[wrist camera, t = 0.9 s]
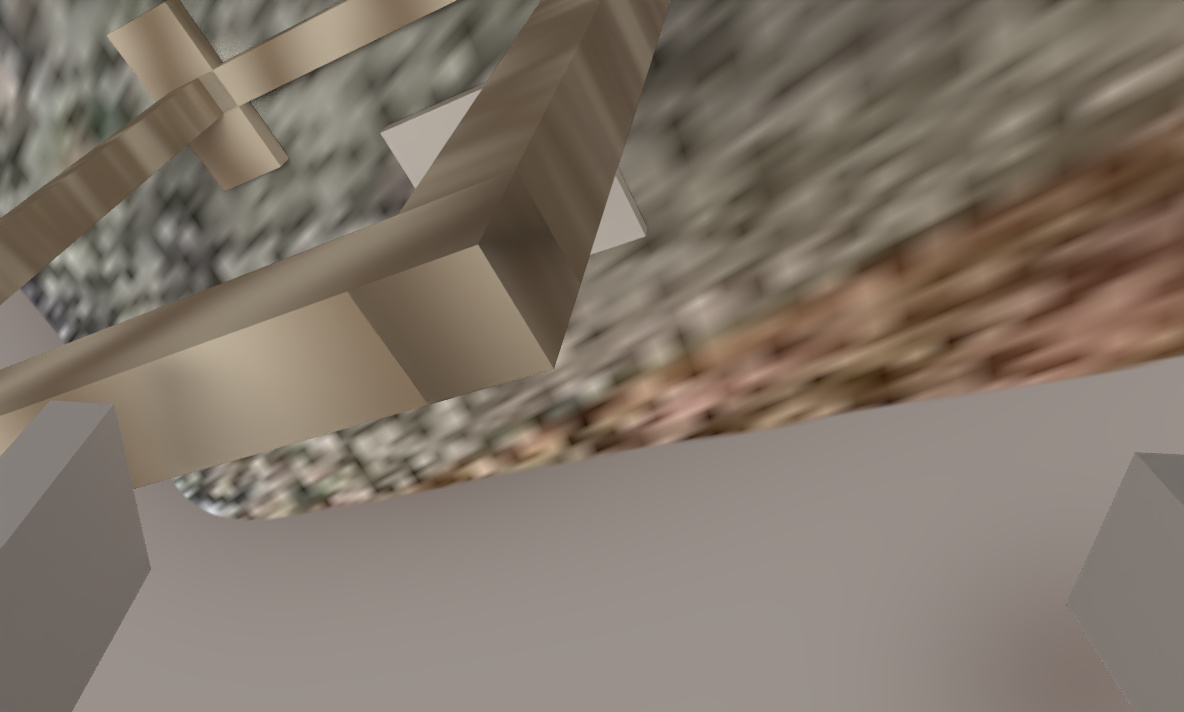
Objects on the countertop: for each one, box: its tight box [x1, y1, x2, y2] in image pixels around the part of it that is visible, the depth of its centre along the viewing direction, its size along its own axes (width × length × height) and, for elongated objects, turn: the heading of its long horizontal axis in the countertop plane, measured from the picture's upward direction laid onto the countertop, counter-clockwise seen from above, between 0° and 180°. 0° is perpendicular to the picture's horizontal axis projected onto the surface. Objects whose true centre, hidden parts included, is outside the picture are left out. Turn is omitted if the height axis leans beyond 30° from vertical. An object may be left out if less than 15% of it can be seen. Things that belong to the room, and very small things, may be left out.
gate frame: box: [0, 0, 671, 489], centre depth 29 cm, size 30×9×32 cm, turn 116°
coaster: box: [381, 83, 648, 255], centre depth 46 cm, size 10×10×1 cm
